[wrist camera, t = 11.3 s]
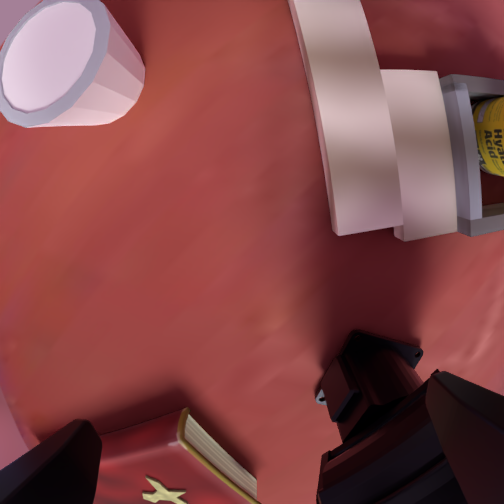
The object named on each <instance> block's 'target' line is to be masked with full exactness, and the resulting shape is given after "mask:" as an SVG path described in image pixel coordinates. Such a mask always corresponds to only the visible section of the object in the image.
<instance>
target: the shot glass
mask: <svg viewBox="0 0 504 504" xmlns="http://www.w3.org/2000/svg"><path fill="white" fill-rule="evenodd" d="M144 79H145V67H144V64H143V61H142V59H141V56H140V54H139V53H138V51H137V50H136V48H135V47H134V46H133V44H132V43H131V41H130V40H129V38H128V37H127V36H126V34H125V33H124V31H123V30H122V29H121V27H120V26H119V24H118V23H117V22H116V20H115V19H114V17H113V16H112V15H111V13H110V12H109V10H108V9H107V8H106V6H105V5H104V4H103V3H102V2H101V1H99V0H43V1H42V2H41V3H39V4H38V5H37V6H35V7H34V8H33V9H31V10H30V11H29V12H27V13H26V14H25V15H24V16H23V17H22V19H21V20H20V21H19V22H18V24H17V25H16V26H15V27H14V29H13V30H12V31H11V33H10V34H9V35H8V37H7V39H6V41H5V43H4V45H3V47H2V50H1V52H0V111H1V112H2V114H3V115H4V116H5V118H6V119H7V120H8V121H9V122H12V123H14V124H17V125H20V126H23V127H25V128H29V127H47V126H79V125H101V124H109V123H111V122H113V121H115V120H116V119H118V118H120V117H122V116H124V115H125V114H126V113H127V112H128V111H129V110H130V108H131V107H132V106H133V105H134V104H135V103H136V102H137V100H138V98H139V95H140V93H141V91H142V89H143V87H144Z"/></svg>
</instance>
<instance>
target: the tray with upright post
mask: <svg viewBox="0 0 504 504" xmlns="http://www.w3.org/2000/svg"><path fill="white" fill-rule="evenodd" d="M288 3H289V7H290V11H291V15H292V18H293V22H294V26H295V30H296V34H297V38H298V42H299V46H300V50H301V55H302V59H303V63H304V68H305V72H306V77H307V81H308V86H309V91H310V96H311V101H312V106H313V111H314V116H315V121H316V127H317V132H318V138H319V143H320V149H321V155H322V161H323V167H324V174H325V180H326V187H327V194H328V201H329V208H330V216H331V224H332V231H333V232H335V233H336V234H337V235H338V236H342V235H348V234H354V233H360V232H366V231H371V230H377V229H383V228H389V227H394V236H395V237H397V238H399V239H400V240H402V241H404V242H406V241H411V240H416V239H421V238H427V237H432V236H437V235H442V234H447V233H452V232H460V233H462V234H465V235H467V236H470V237H473V236H477V235H482V234H486V233H491V232H496V231H500V230H504V203H497V204H491V205H485V206H482V197H481V180H480V168H479V158H478V149H477V141H476V134H475V127H474V121H473V115H472V109H471V104H470V99H471V100H486V99H492V98H499V97H504V80H498V79H491V78H484V77H476V76H467V75H457V74H450V75H448V76H445V77H442V78H440V79H439V78H438V74H437V71H425V70H380V68H379V64H378V60H377V56H376V52H375V48H374V45H373V41H372V37H371V34H370V31H369V27H368V24H367V21H366V17H365V14H364V11H363V8H362V5H361V2H360V0H288Z"/></svg>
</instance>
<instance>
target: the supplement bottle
mask: <svg viewBox="0 0 504 504" xmlns="http://www.w3.org/2000/svg"><path fill="white" fill-rule="evenodd" d="M471 109H472V115H473V121H474V127H475V134H476V141H477V149H478V158H479V168H480V169H481V170H483V171H484V172H486V173H489V174H492V175H498V176H504V97H499V98H492V99H486V100H482V101H478V102H476V103H475V104H473V105H472V106H471Z"/></svg>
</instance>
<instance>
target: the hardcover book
mask: <svg viewBox="0 0 504 504" xmlns="http://www.w3.org/2000/svg"><path fill="white" fill-rule="evenodd" d="M190 411H191V410H190V409H189V408H188V407H187V408H184V409H181V410H178V411H176V412H173V413H170V414H167V415H164V416H161V417H158V418H155V419H152V420H149V421H146V422H143V423H140V424H137V425H134V426H131V427H127V428H124V429H121V430H118V431H114V432H111V433H107V434H104V435H100V436H99V437H100V438H101V440H102V454H101V460H100V467H99V474H98V482H97V488H96V494H95V498H94V502H93V504H261V503H260V502H258V501H257V480H256V479H255V478H254V477H253V476H252V475H251V474H250V473H249V472H247V471H246V470H245V469H244V468H243V467H242V466H241V465H240V464H239V463H237V462H236V461H235V460H234V459H233V458H232V457H231V456H230V455H229V454H228V453H227V452H226V451H225V450H224V449H223V448H222V447H221V446H220V445H219V444H217V443H216V442H215V441H214V440H213V439H212V438H211V437H210V436H209V435H208V434H207V433H206V432H205V431H204V429H203V428H202V427H201V426H200V425H199V424H198V423H197V422H196V421H195V420H194V419H193V418H192V417H191V416H190V415H189V413H190Z"/></svg>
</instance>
